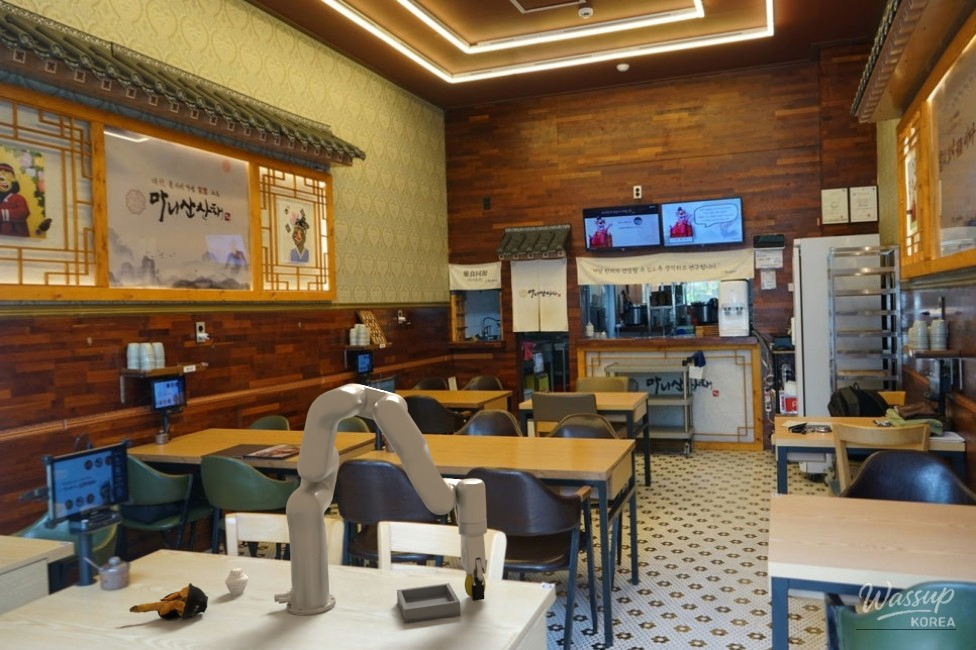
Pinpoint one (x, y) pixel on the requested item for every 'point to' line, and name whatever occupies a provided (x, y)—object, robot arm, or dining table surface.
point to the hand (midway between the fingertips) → (475, 594)
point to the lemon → (471, 583)
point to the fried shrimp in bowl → (177, 604)
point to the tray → (428, 603)
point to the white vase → (236, 581)
